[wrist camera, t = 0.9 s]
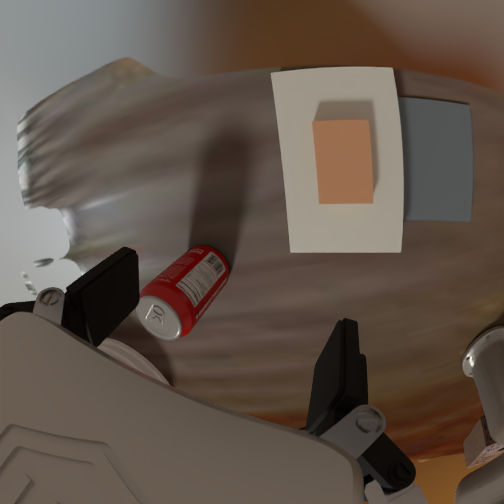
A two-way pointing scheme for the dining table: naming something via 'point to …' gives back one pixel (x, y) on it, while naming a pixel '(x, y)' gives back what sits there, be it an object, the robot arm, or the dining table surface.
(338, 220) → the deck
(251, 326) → the dining table surface
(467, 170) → the mat
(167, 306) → the soda can
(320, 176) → the tile
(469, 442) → the tissue box cover
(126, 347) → the plate stack
